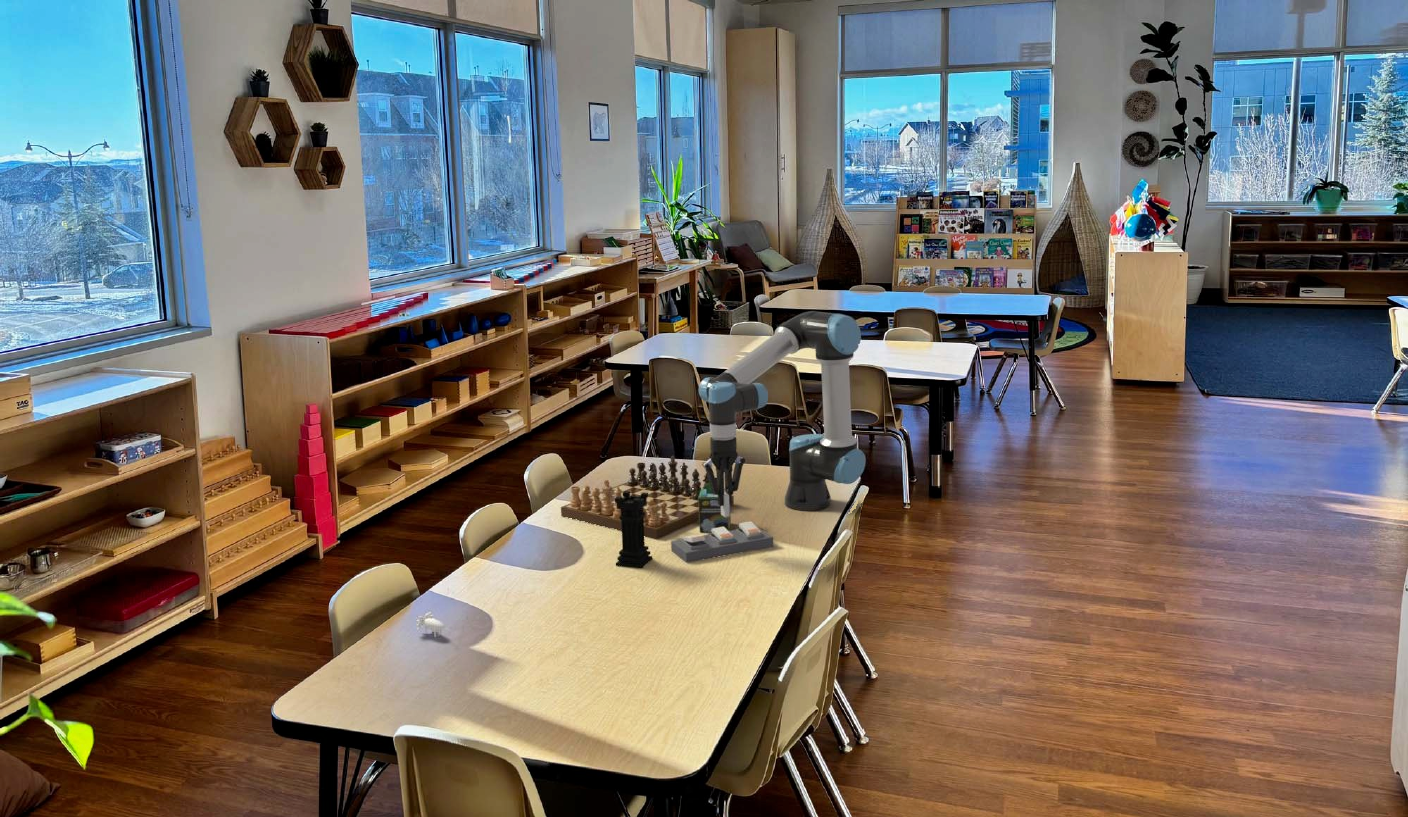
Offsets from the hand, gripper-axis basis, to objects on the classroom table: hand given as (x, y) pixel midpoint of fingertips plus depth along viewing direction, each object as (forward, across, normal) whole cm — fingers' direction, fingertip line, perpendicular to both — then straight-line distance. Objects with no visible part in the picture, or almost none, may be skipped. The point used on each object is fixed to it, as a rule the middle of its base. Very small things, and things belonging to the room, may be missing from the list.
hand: (725, 515), depth 323 cm
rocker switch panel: (+11, 0, -2) cm, 11 cm away
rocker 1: (+7, +9, -2) cm, 12 cm away
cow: (+11, +88, +20) cm, 91 cm away
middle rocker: (+7, 0, -2) cm, 7 cm away
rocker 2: (+7, -9, -2) cm, 11 cm away
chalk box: (+11, -6, -20) cm, 24 cm away
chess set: (+12, +6, -46) cm, 48 cm away
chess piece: (+11, +27, -4) cm, 30 cm away
